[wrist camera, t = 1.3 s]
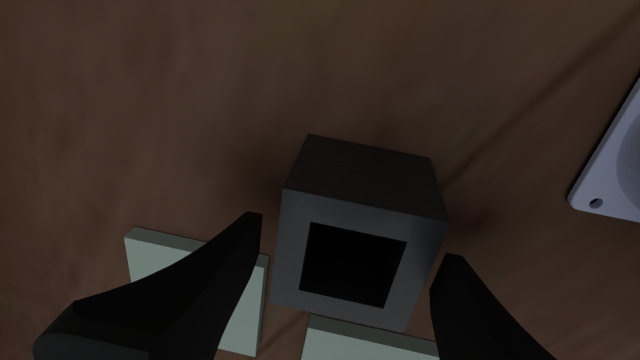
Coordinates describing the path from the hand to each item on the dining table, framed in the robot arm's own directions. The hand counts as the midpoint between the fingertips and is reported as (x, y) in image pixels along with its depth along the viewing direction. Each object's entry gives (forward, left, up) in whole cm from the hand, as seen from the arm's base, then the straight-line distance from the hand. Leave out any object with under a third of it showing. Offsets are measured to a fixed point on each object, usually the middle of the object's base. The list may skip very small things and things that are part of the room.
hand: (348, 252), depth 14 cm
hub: (0, 0, -4) cm, 4 cm away
